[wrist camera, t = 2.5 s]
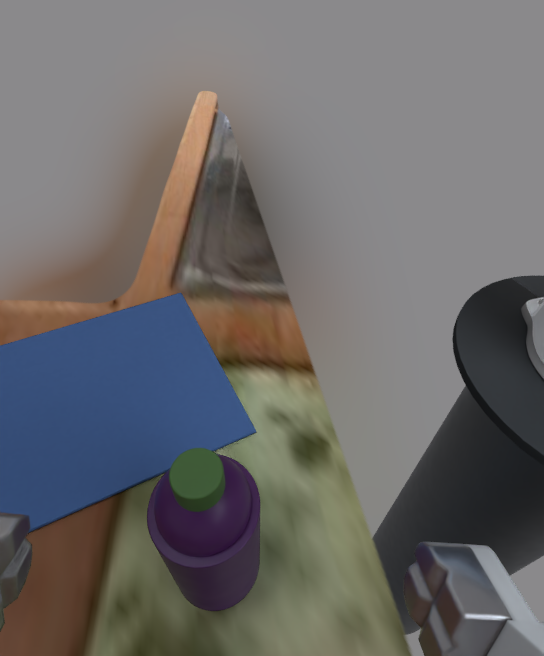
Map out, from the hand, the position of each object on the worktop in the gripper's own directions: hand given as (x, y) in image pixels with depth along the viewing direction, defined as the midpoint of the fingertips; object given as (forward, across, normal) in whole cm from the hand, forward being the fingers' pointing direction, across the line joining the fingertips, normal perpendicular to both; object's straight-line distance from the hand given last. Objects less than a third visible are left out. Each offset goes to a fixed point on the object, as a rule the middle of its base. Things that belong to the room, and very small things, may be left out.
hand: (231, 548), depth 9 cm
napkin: (+23, +11, +13) cm, 29 cm away
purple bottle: (+12, -1, +16) cm, 20 cm away
